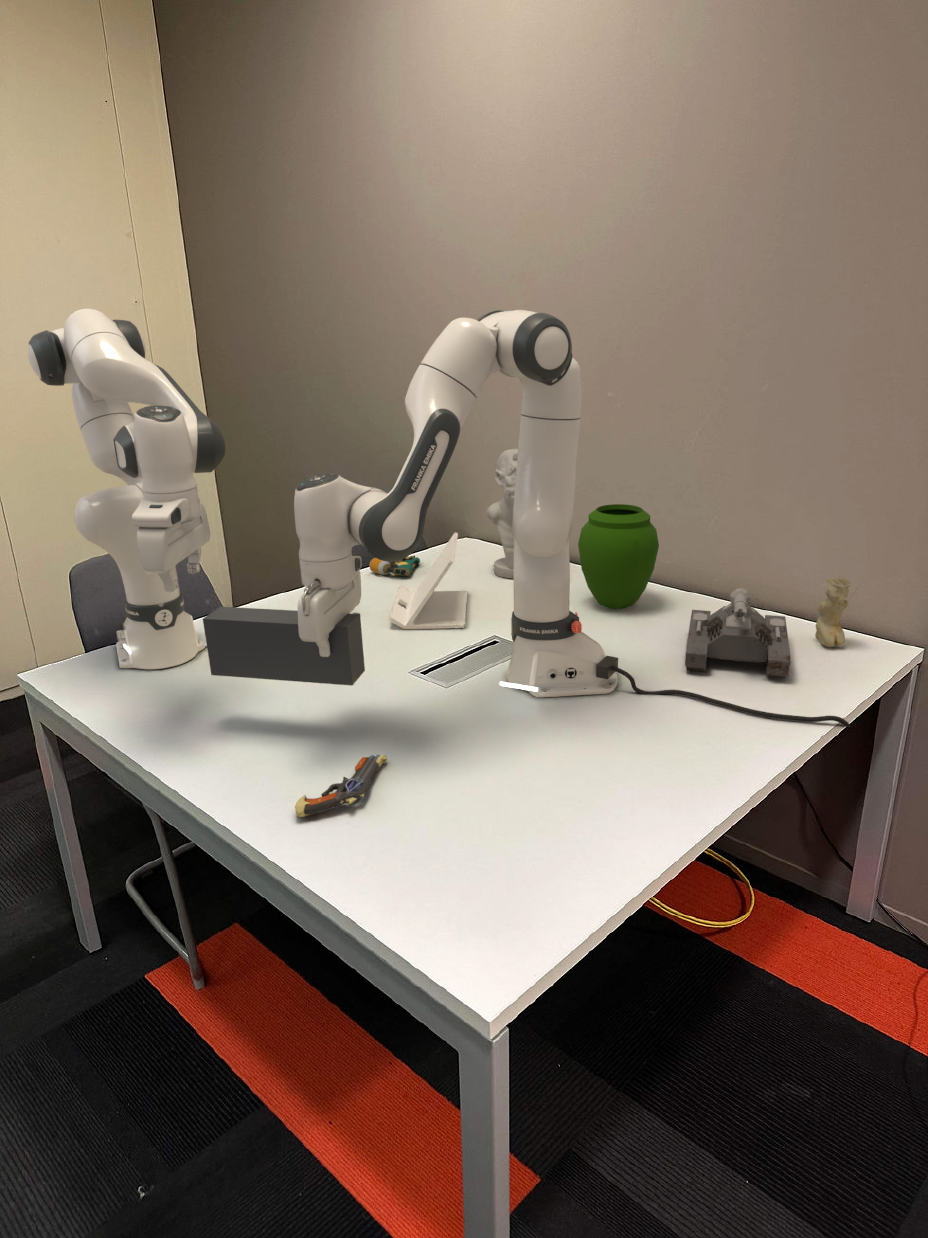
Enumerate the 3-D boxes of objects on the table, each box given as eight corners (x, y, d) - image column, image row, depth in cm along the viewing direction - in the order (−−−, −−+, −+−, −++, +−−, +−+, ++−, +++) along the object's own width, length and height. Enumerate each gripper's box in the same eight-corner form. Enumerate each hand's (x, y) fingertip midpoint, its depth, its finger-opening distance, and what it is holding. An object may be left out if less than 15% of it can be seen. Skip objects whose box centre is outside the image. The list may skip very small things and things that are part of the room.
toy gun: (289, 806, 128) (352, 804, 126) (331, 752, 146) (386, 749, 144) (292, 822, 129) (355, 821, 127) (333, 766, 147) (389, 764, 145)
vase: (599, 587, 227) (601, 497, 218) (668, 600, 216) (673, 505, 208) (562, 608, 212) (564, 513, 204) (634, 623, 202) (639, 523, 193)
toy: (690, 629, 197) (694, 567, 192) (782, 637, 191) (789, 573, 186) (684, 674, 174) (688, 605, 169) (788, 683, 169) (796, 612, 163)
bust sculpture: (503, 593, 225) (502, 460, 212) (483, 567, 247) (480, 445, 234) (562, 587, 228) (563, 456, 215) (536, 562, 250) (536, 441, 237)
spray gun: (389, 561, 257) (433, 568, 251) (360, 574, 243) (406, 581, 237) (389, 547, 256) (434, 554, 250) (360, 559, 242) (406, 566, 236)
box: (364, 670, 153) (360, 613, 149) (352, 685, 148) (347, 626, 144) (228, 661, 160) (220, 606, 156) (211, 675, 154) (202, 618, 150)
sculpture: (821, 649, 184) (830, 583, 179) (808, 637, 191) (816, 573, 185) (848, 649, 184) (858, 582, 179) (834, 636, 191) (843, 572, 185)
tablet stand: (467, 593, 225) (465, 531, 219) (465, 628, 202) (462, 559, 196) (399, 594, 226) (395, 532, 220) (388, 629, 203) (384, 560, 197)
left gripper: (180, 490, 155) (190, 562, 161) (126, 519, 137) (139, 600, 142) (213, 490, 155) (222, 563, 160) (163, 520, 136) (175, 601, 141)
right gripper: (320, 591, 134) (329, 671, 139) (364, 554, 153) (370, 626, 158) (283, 590, 136) (293, 669, 141) (331, 553, 154) (338, 624, 159)
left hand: (183, 581), depth 151 cm, fingers open, 8 cm apart
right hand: (334, 646), depth 149 cm, fingers closed on box, 6 cm apart
